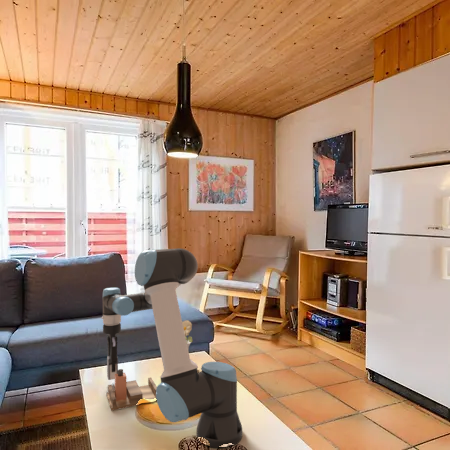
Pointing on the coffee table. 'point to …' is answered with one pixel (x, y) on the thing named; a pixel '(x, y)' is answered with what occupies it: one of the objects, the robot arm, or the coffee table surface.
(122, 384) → the terracotta plug
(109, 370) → the charcoal plug
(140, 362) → the coffee table surface
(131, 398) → the wooden ridged block
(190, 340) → the flower in vase
